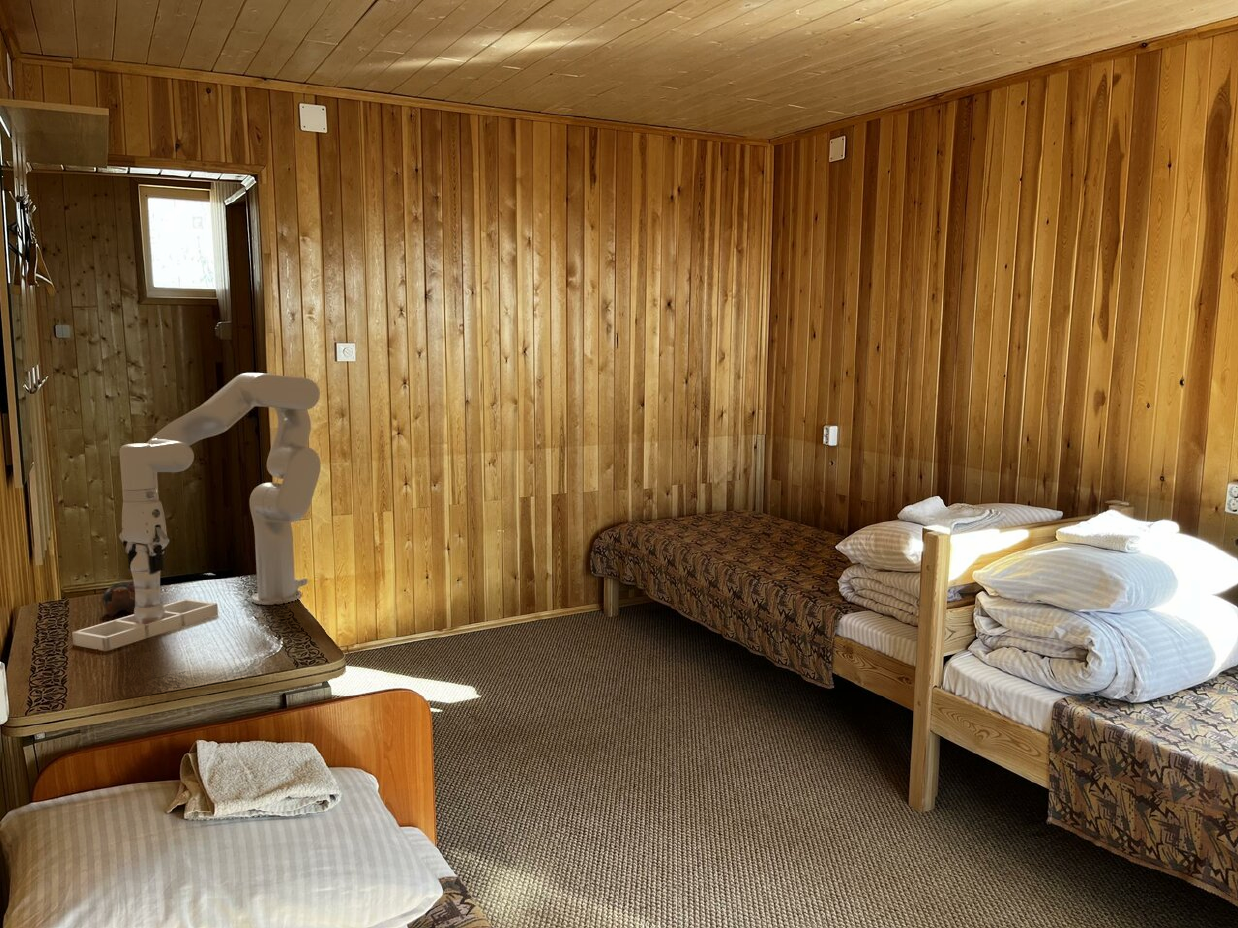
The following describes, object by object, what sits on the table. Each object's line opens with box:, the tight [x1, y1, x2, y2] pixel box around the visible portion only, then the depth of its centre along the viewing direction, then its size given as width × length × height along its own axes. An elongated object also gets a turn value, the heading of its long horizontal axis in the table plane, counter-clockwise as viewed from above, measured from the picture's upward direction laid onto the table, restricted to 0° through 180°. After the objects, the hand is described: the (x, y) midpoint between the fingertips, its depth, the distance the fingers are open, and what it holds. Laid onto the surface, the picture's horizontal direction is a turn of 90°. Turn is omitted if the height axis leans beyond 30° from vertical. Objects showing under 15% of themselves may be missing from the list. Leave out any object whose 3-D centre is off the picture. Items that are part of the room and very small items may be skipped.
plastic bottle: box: [130, 543, 165, 624], centre depth 221 cm, size 6×7×20 cm
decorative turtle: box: [101, 581, 135, 617], centre depth 237 cm, size 10×15×8 cm, turn 27°
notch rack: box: [71, 598, 219, 652], centre depth 222 cm, size 31×11×3 cm, turn 156°
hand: (146, 569), depth 221 cm, fingers closed on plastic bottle, 6 cm apart
